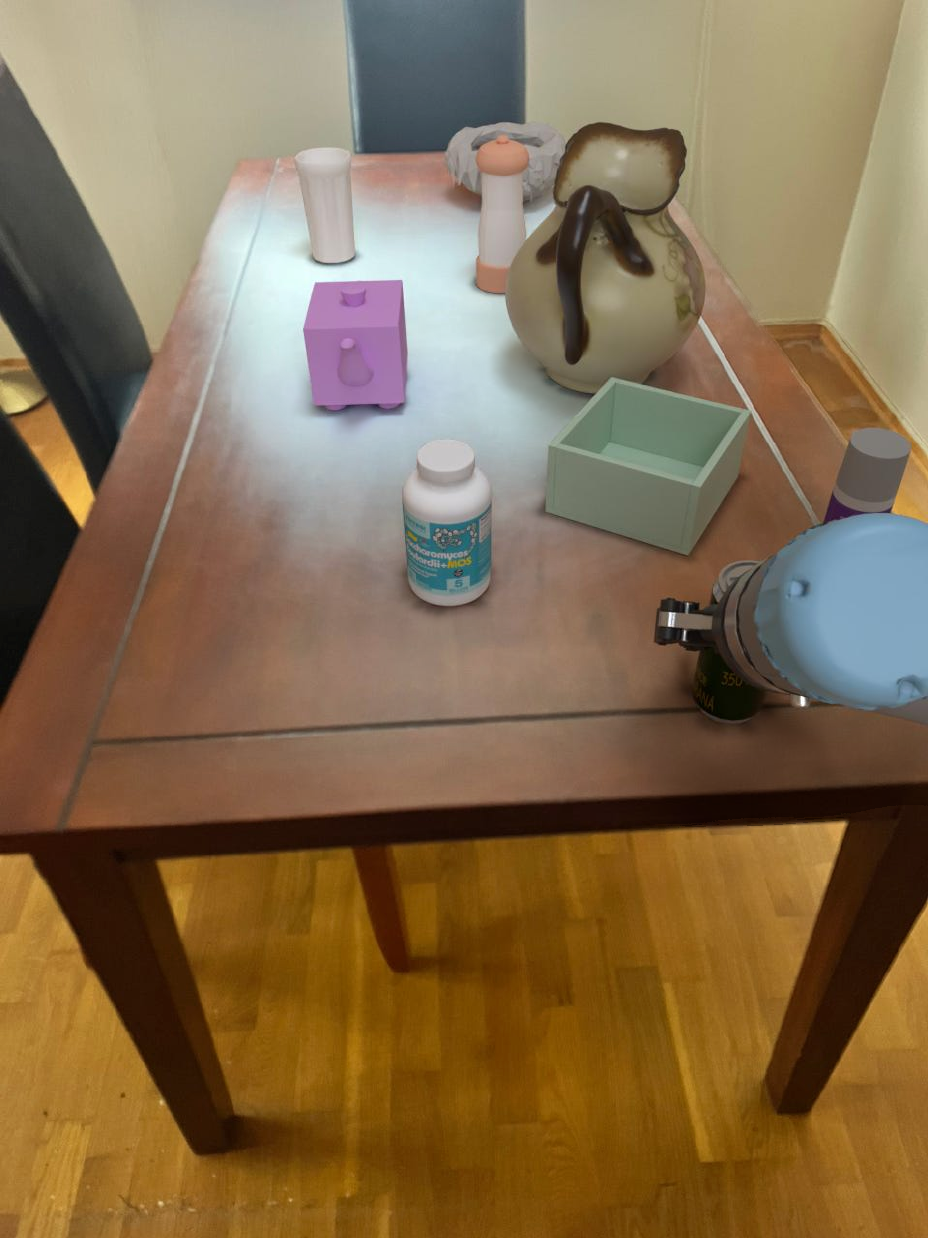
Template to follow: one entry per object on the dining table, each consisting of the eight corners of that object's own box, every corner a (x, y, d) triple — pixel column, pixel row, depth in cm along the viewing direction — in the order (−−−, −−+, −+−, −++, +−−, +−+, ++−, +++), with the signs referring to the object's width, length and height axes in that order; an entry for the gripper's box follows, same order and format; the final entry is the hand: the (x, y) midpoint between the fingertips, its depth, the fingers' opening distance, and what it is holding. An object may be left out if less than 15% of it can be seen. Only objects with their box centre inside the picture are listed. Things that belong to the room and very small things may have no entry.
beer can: (741, 670, 74) (771, 552, 66) (774, 719, 70) (810, 600, 62) (679, 683, 73) (701, 565, 65) (708, 733, 69) (736, 614, 61)
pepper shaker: (524, 295, 128) (527, 144, 115) (472, 292, 129) (469, 143, 116) (530, 274, 133) (534, 128, 120) (480, 271, 134) (479, 126, 121)
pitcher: (639, 318, 122) (662, 106, 105) (733, 402, 105) (779, 168, 88) (479, 346, 117) (476, 129, 100) (551, 440, 100) (562, 199, 83)
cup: (340, 271, 135) (328, 167, 126) (296, 262, 139) (281, 159, 129) (371, 252, 141) (362, 151, 131) (328, 243, 144) (316, 143, 134)
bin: (737, 476, 94) (751, 410, 89) (688, 556, 85) (700, 487, 80) (605, 441, 100) (611, 376, 95) (545, 511, 91) (548, 444, 85)
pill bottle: (396, 600, 81) (383, 470, 72) (425, 550, 86) (417, 423, 77) (476, 618, 79) (474, 486, 70) (502, 565, 85) (503, 437, 75)
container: (811, 608, 79) (857, 459, 69) (799, 573, 83) (841, 426, 73) (867, 609, 79) (921, 459, 69) (852, 573, 83) (902, 426, 72)
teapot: (328, 358, 115) (314, 257, 107) (409, 355, 115) (402, 255, 107) (310, 444, 101) (293, 335, 92) (403, 441, 101) (395, 332, 92)
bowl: (593, 201, 155) (597, 136, 148) (491, 227, 147) (490, 160, 140) (522, 170, 168) (524, 108, 161) (425, 192, 160) (422, 129, 153)
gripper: (613, 676, 50) (607, 673, 73) (972, 714, 48) (850, 698, 71) (627, 539, 51) (617, 579, 74) (985, 570, 48) (858, 601, 71)
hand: (731, 637), depth 72 cm, fingers closed on beer can, 5 cm apart
